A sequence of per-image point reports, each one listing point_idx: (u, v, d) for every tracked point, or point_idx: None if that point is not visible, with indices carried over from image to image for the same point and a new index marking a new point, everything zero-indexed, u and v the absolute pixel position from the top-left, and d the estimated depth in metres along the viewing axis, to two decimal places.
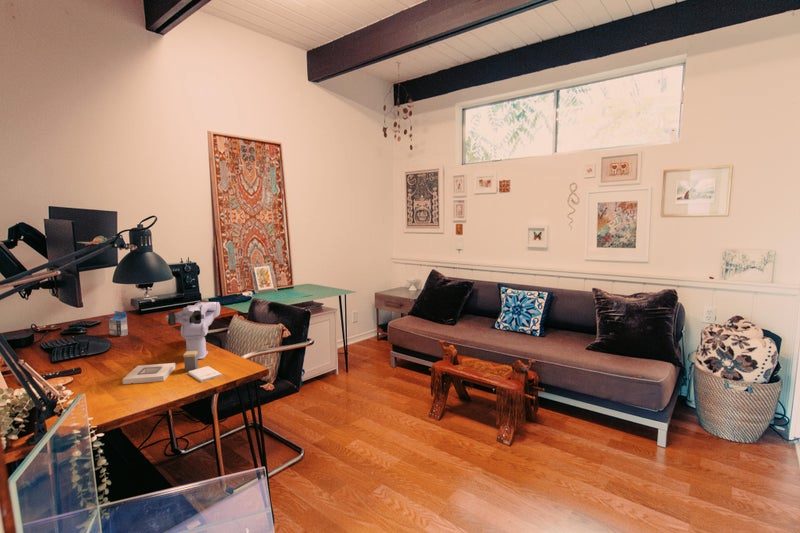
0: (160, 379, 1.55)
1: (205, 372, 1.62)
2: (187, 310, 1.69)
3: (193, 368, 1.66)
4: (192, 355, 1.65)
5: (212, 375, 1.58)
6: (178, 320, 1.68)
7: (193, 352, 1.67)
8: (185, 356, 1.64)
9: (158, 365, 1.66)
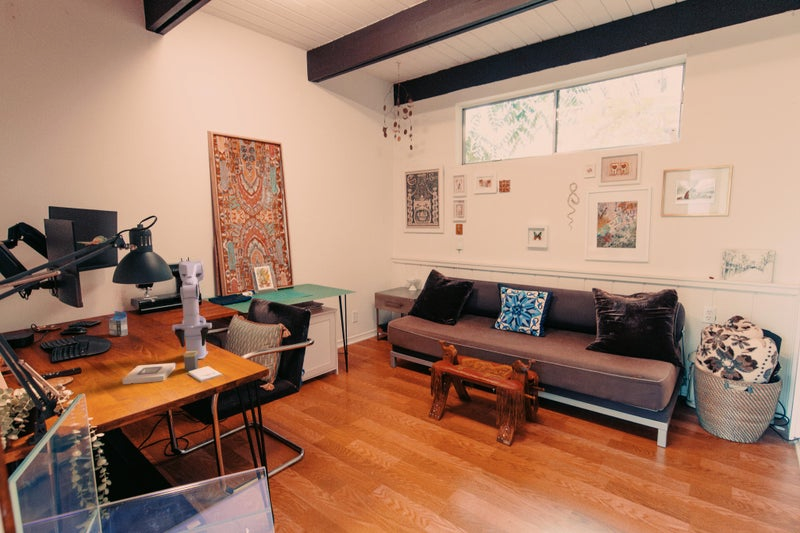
0: (160, 379, 1.55)
1: (205, 372, 1.62)
2: (191, 327, 1.64)
3: (193, 368, 1.66)
4: (192, 355, 1.65)
5: (212, 375, 1.58)
6: None
7: (193, 352, 1.67)
8: (185, 356, 1.64)
9: (158, 365, 1.66)
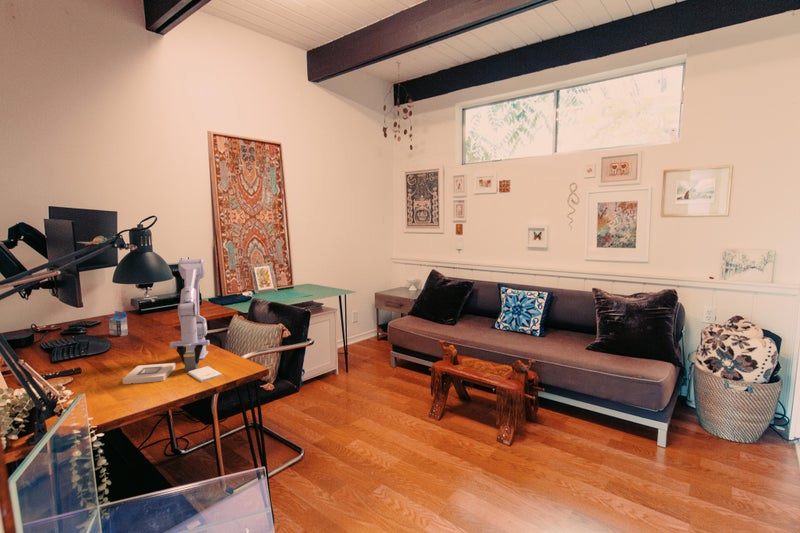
0: (160, 379, 1.55)
1: (205, 372, 1.62)
2: (189, 345, 1.64)
3: (193, 368, 1.66)
4: (192, 355, 1.65)
5: (212, 375, 1.59)
6: None
7: (193, 352, 1.67)
8: (185, 356, 1.64)
9: (158, 365, 1.66)
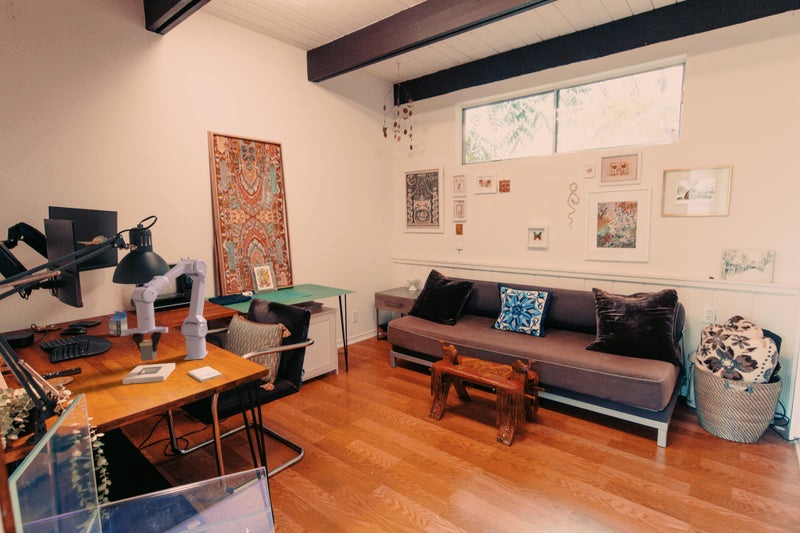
0: (160, 379, 1.55)
1: (205, 372, 1.62)
2: (145, 332, 1.56)
3: (150, 358, 1.58)
4: (149, 344, 1.57)
5: (212, 375, 1.59)
6: None
7: (150, 341, 1.59)
8: (141, 345, 1.56)
9: (158, 365, 1.66)
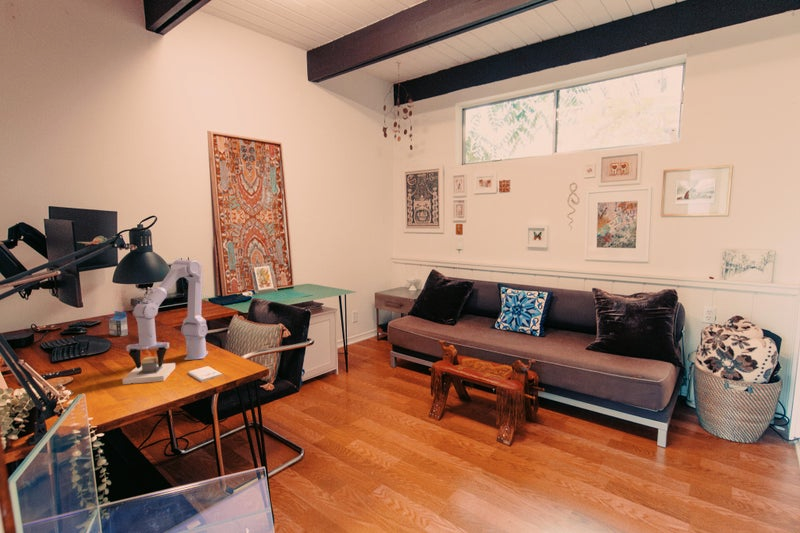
0: (160, 379, 1.55)
1: (205, 371, 1.62)
2: None
3: None
4: (150, 361, 1.58)
5: (212, 375, 1.59)
6: None
7: (152, 358, 1.60)
8: (143, 362, 1.57)
9: None
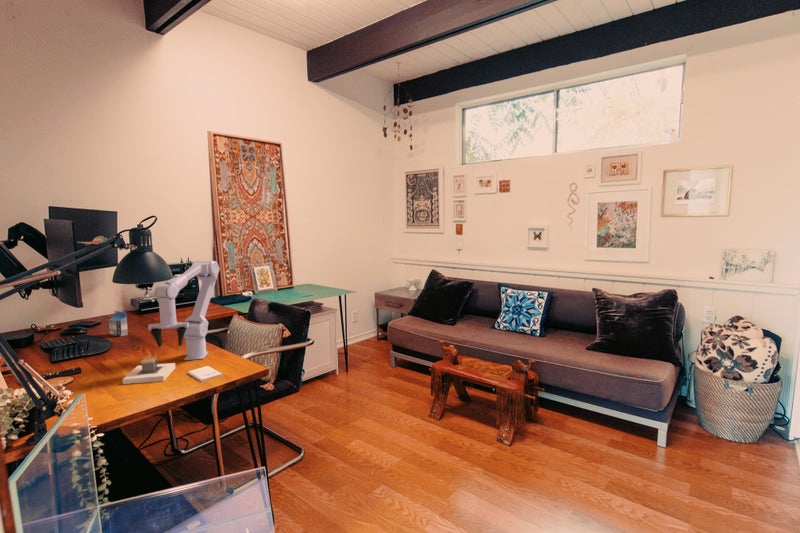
0: (160, 379, 1.55)
1: (205, 371, 1.62)
2: None
3: None
4: (150, 361, 1.58)
5: (212, 375, 1.59)
6: None
7: (152, 358, 1.60)
8: (143, 362, 1.57)
9: (158, 365, 1.66)
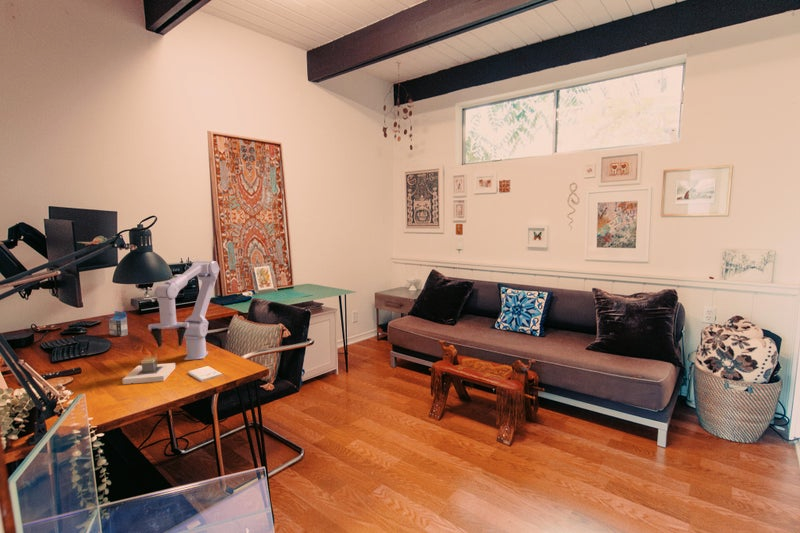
0: (160, 379, 1.55)
1: (205, 371, 1.62)
2: None
3: None
4: (150, 361, 1.58)
5: (212, 375, 1.59)
6: None
7: (152, 358, 1.60)
8: (143, 362, 1.57)
9: (158, 365, 1.66)
